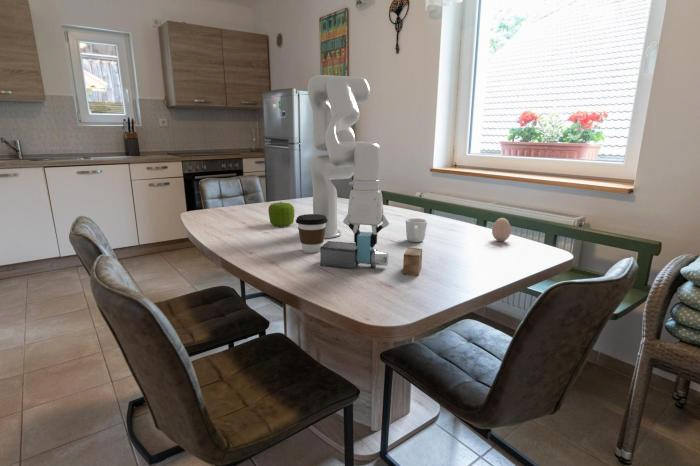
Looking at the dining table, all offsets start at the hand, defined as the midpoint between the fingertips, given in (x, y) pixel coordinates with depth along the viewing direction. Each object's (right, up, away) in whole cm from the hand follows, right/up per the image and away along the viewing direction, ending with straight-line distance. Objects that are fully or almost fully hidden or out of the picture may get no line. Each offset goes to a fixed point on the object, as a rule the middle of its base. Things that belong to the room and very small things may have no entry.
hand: (365, 245), depth 122 cm
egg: (+53, 0, +30) cm, 61 cm away
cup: (+20, 0, +29) cm, 36 cm away
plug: (-3, -6, +2) cm, 7 cm away
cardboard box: (+14, -8, -2) cm, 16 cm away
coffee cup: (-18, -3, +18) cm, 25 cm away
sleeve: (-7, -6, +4) cm, 10 cm away
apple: (-35, +7, +55) cm, 65 cm away
